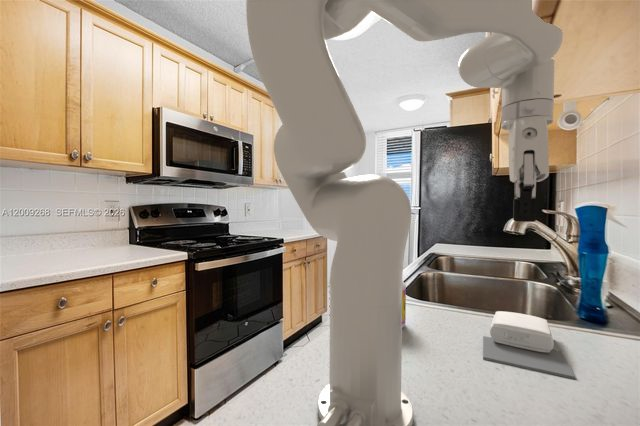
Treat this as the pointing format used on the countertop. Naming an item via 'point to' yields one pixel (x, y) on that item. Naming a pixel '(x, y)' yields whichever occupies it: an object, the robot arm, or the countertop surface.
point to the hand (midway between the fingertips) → (524, 221)
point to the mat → (527, 358)
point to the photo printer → (521, 331)
